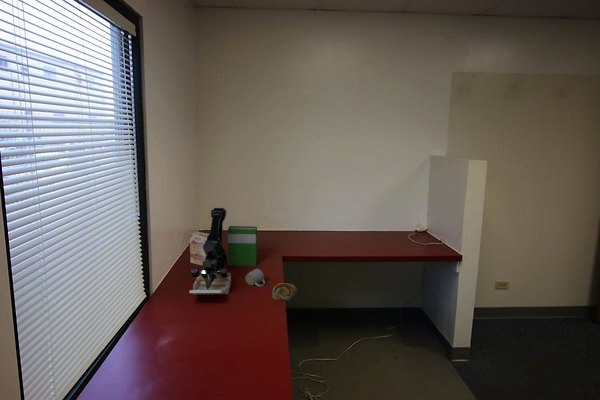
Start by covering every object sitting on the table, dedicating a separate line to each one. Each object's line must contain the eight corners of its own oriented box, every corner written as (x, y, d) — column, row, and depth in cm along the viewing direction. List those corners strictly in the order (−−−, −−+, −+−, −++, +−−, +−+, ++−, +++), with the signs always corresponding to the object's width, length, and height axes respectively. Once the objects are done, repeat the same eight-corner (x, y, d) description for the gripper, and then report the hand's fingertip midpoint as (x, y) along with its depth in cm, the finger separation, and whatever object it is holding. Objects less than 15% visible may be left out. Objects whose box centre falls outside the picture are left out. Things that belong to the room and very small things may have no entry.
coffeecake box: (190, 262, 235) (189, 233, 231) (197, 259, 241) (197, 231, 238) (207, 267, 228) (207, 237, 225) (215, 263, 235) (214, 234, 231)
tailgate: (195, 289, 189) (189, 290, 177) (224, 289, 190) (220, 290, 178) (195, 293, 189) (189, 294, 176) (224, 293, 190) (220, 294, 177)
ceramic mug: (244, 284, 205) (244, 271, 203) (253, 279, 212) (253, 267, 210) (259, 289, 199) (259, 276, 198) (268, 284, 206) (268, 271, 205)
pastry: (274, 303, 184) (274, 288, 183) (269, 292, 196) (269, 278, 194) (301, 299, 188) (301, 285, 187) (294, 289, 200) (294, 276, 198)
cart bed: (198, 283, 204) (198, 272, 203) (231, 283, 205) (230, 272, 204) (193, 294, 191) (192, 282, 190) (227, 294, 192) (227, 282, 191)
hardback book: (256, 261, 240) (257, 226, 235) (255, 265, 233) (255, 229, 228) (230, 261, 239) (229, 226, 235) (228, 265, 232) (227, 229, 227)
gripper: (189, 253, 184) (185, 282, 176) (227, 253, 185) (224, 282, 177) (193, 262, 194) (189, 291, 185) (229, 262, 195) (226, 290, 186)
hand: (207, 288), depth 183 cm, fingers closed
